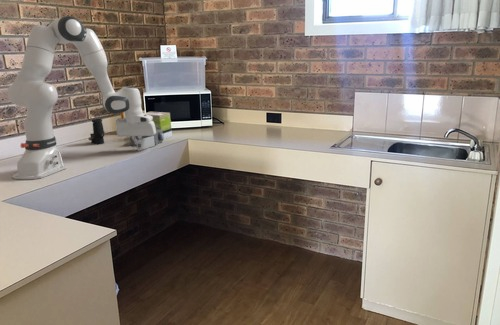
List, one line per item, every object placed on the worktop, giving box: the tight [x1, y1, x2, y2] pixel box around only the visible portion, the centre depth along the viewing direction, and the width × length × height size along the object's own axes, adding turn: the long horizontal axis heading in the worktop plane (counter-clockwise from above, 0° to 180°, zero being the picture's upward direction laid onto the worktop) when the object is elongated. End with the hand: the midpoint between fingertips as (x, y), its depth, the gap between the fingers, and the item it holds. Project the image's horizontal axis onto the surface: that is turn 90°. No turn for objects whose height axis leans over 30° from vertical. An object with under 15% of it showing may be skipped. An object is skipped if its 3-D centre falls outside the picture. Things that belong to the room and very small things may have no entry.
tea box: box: [143, 111, 173, 141], centre depth 238 cm, size 15×10×15 cm, turn 63°
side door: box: [136, 136, 156, 152], centre depth 214 cm, size 2×13×5 cm, turn 148°
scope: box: [88, 118, 106, 145], centre depth 230 cm, size 8×14×10 cm
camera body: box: [129, 129, 165, 147], centre depth 226 cm, size 12×16×7 cm
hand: (137, 144), depth 212 cm, fingers closed
